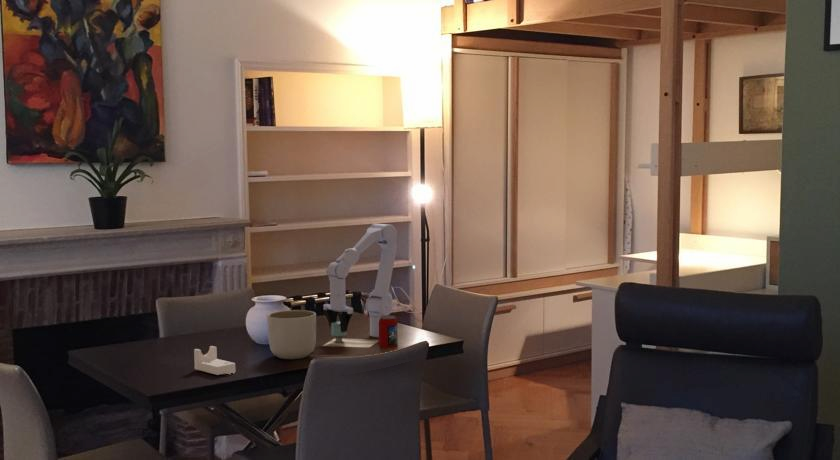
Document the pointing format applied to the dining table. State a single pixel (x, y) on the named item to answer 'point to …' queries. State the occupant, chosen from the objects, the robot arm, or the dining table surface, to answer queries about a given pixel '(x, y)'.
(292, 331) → the planter
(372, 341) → the stud plate
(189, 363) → the dining table surface
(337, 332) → the cap
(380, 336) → the beverage can
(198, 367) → the bracket
